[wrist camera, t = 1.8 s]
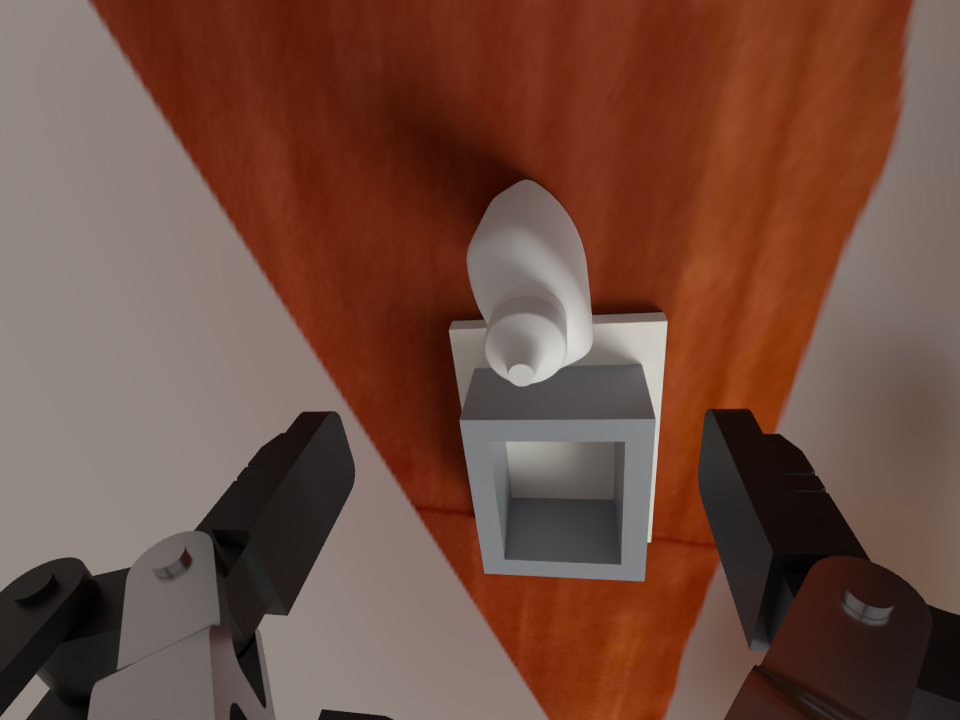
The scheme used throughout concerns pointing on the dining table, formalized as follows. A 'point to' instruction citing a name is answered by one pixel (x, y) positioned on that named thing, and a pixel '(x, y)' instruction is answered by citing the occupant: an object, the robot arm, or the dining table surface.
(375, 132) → the dining table surface
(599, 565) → the socket
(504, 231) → the eye dropper bottle
